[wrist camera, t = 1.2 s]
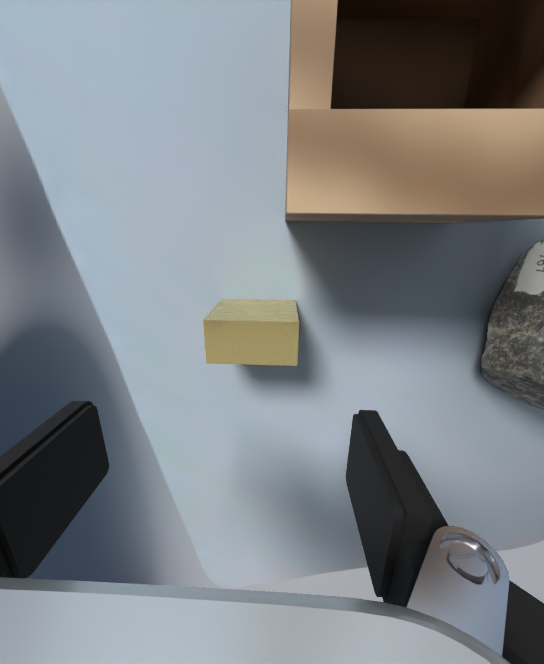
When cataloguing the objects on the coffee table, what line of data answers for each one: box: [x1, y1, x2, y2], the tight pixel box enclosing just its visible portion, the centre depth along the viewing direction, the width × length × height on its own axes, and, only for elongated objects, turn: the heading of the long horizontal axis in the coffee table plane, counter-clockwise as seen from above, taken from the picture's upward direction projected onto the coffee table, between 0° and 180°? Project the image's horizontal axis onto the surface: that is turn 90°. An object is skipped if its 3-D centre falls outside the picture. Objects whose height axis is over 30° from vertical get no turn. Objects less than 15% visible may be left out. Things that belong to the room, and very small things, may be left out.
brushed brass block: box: [203, 299, 299, 366], centre depth 21 cm, size 3×6×6 cm, turn 89°
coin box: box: [285, 0, 544, 223], centre depth 14 cm, size 12×12×10 cm
